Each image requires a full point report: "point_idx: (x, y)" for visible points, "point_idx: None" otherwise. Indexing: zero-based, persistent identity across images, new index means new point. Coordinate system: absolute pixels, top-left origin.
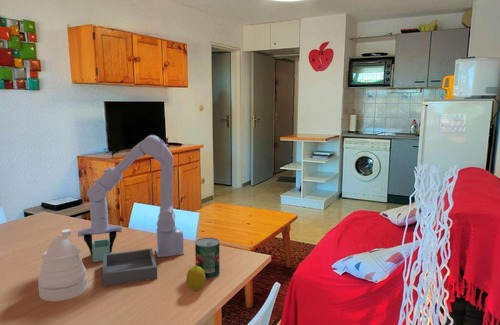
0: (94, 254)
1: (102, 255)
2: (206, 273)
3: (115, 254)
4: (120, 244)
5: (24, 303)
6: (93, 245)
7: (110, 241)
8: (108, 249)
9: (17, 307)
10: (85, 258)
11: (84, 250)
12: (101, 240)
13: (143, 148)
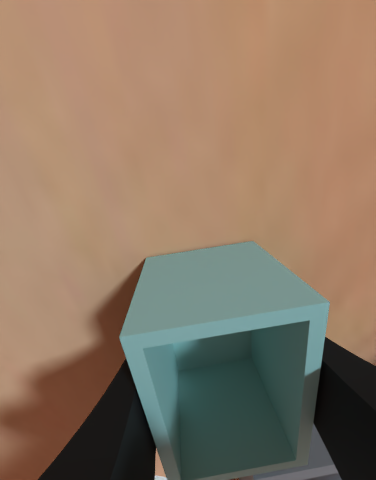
0: (184, 418)
1: (229, 393)
2: None
3: (319, 473)
4: (337, 75)
5: None
6: (167, 449)
7: (349, 475)
8: (285, 430)
9: None
10: (112, 315)
11: (42, 167)
12: (229, 330)
13: None
